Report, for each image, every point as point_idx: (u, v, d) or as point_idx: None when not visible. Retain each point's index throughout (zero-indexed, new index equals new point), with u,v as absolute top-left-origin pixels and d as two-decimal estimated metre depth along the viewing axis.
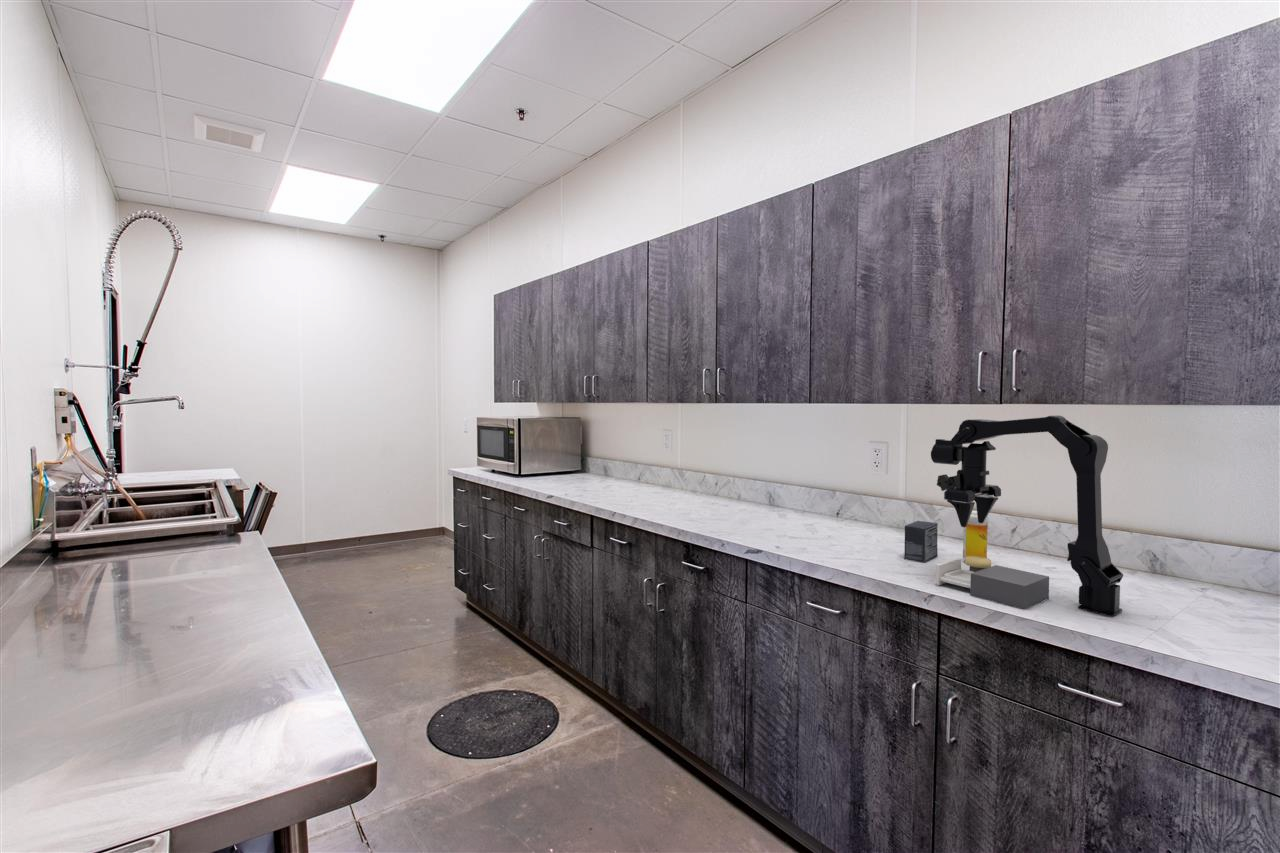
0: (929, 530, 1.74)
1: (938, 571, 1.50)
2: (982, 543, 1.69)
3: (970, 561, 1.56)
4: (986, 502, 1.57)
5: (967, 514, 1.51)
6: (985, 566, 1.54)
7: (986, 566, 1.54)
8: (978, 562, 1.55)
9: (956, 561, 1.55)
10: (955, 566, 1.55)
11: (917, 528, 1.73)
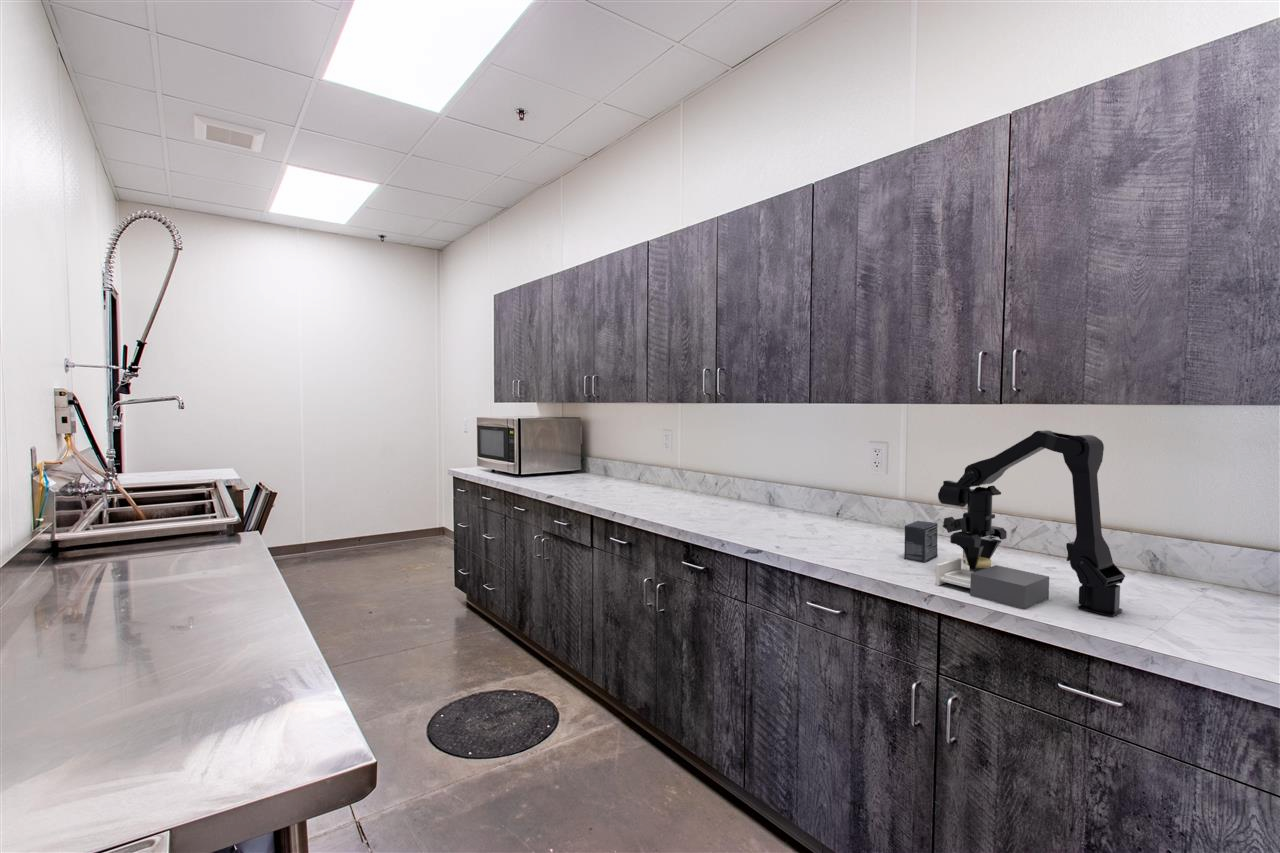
0: (929, 530, 1.74)
1: (938, 571, 1.50)
2: None
3: None
4: (989, 545, 1.58)
5: (976, 557, 1.53)
6: (985, 566, 1.54)
7: (986, 566, 1.54)
8: (978, 562, 1.55)
9: (956, 561, 1.55)
10: (955, 566, 1.55)
11: (917, 528, 1.73)
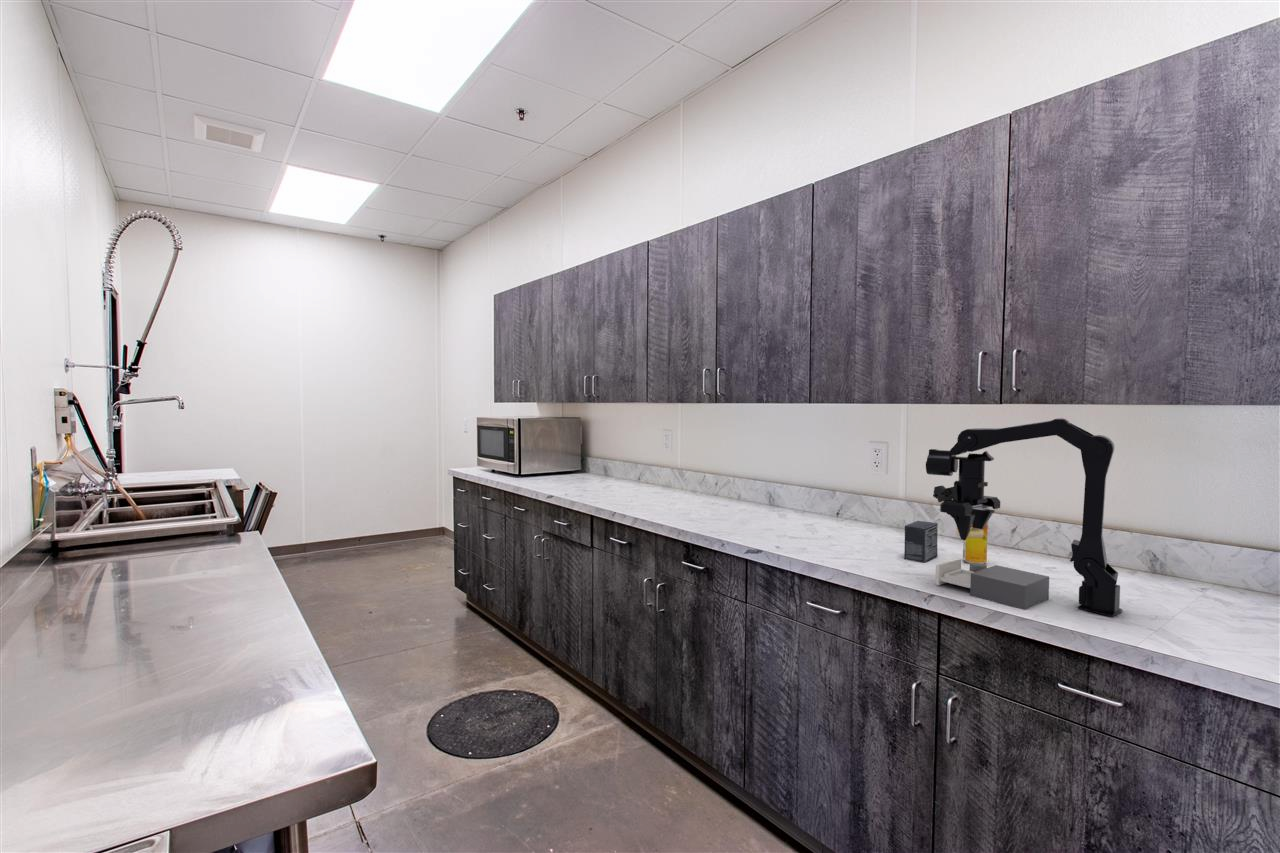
0: (929, 530, 1.74)
1: (938, 571, 1.50)
2: (982, 543, 1.69)
3: None
4: (982, 515, 1.50)
5: (967, 527, 1.46)
6: (977, 536, 1.47)
7: (978, 536, 1.47)
8: (969, 532, 1.47)
9: (956, 561, 1.55)
10: (955, 566, 1.55)
11: (917, 528, 1.73)
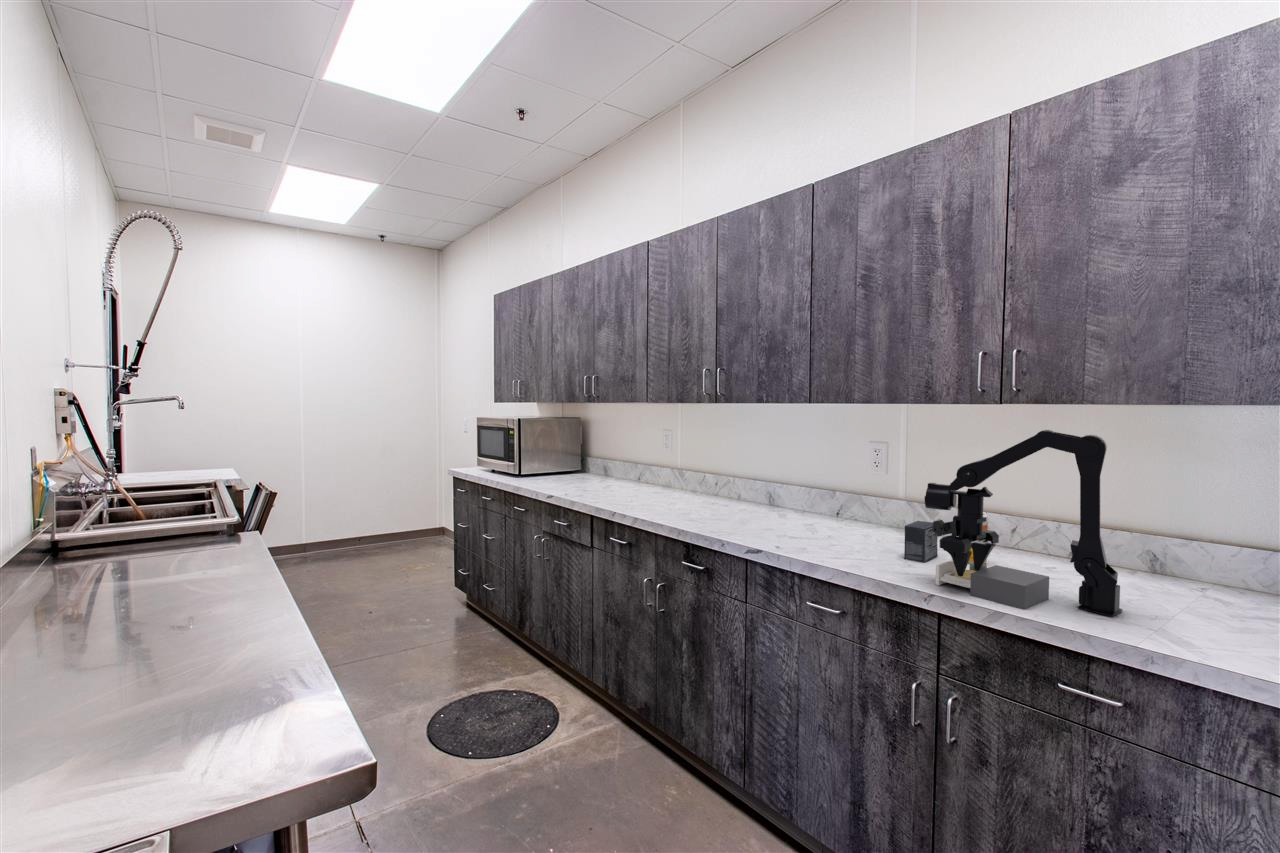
0: (929, 530, 1.74)
1: (938, 571, 1.50)
2: None
3: None
4: (983, 549, 1.51)
5: (964, 563, 1.45)
6: None
7: None
8: (968, 576, 1.47)
9: None
10: None
11: (917, 528, 1.73)
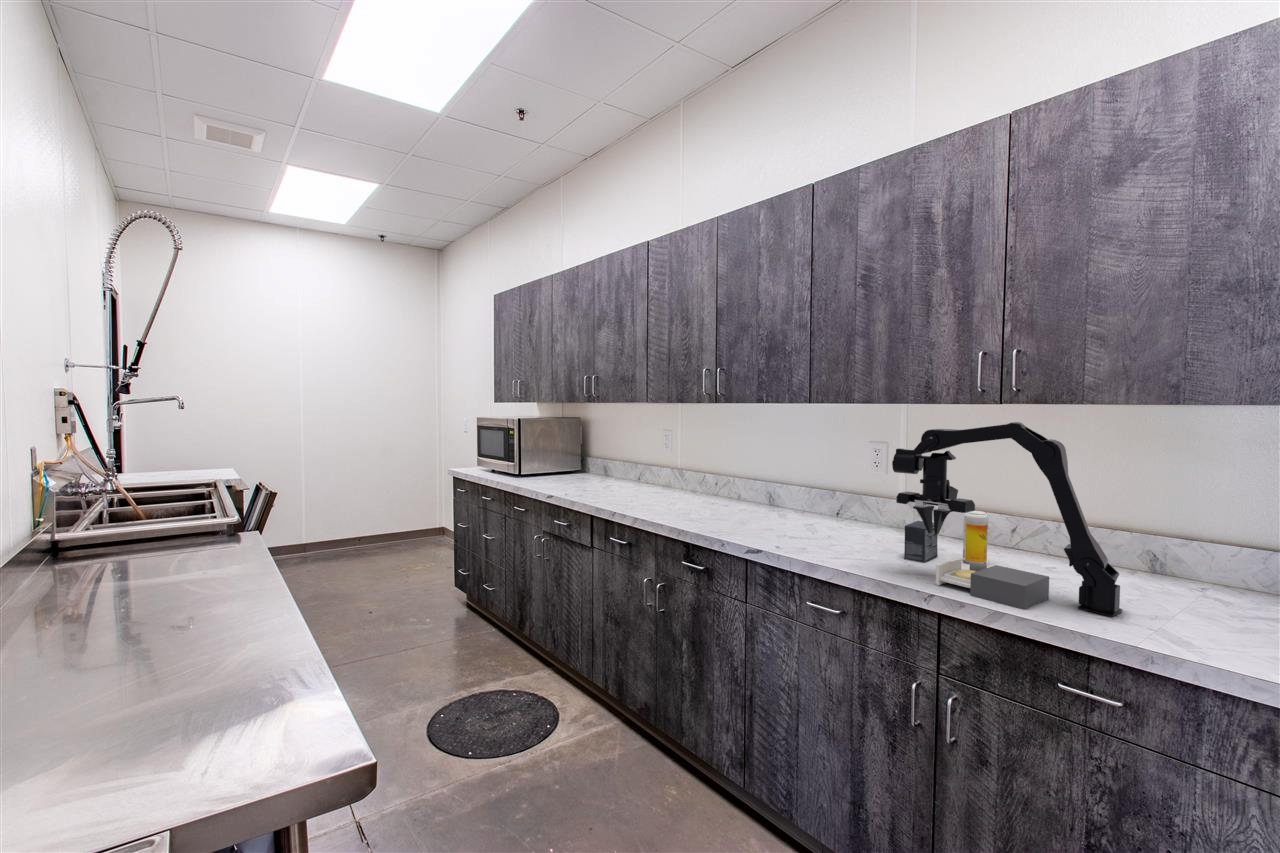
0: None
1: (938, 571, 1.50)
2: (982, 543, 1.69)
3: (960, 575, 1.49)
4: None
5: None
6: None
7: None
8: (968, 576, 1.47)
9: (956, 561, 1.55)
10: (955, 566, 1.55)
11: (917, 528, 1.73)
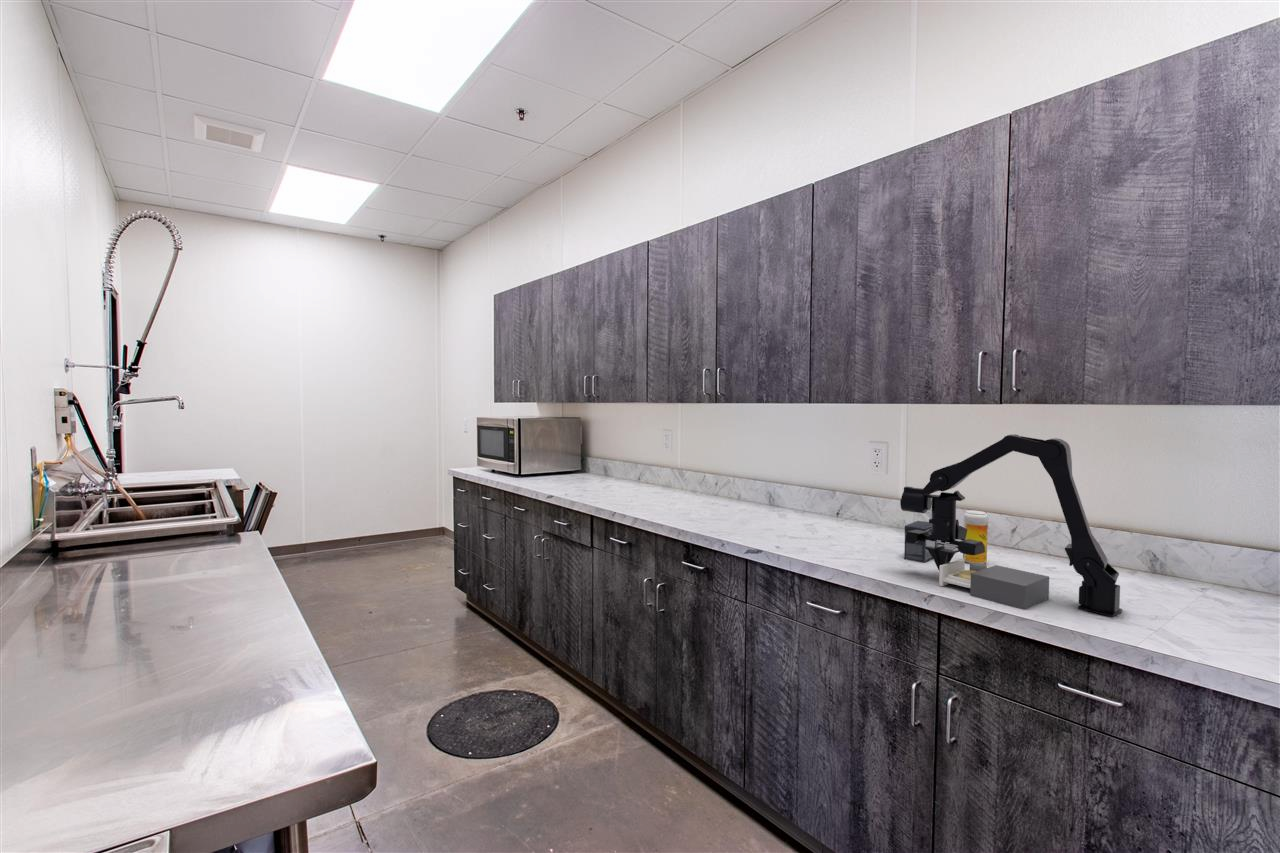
0: (929, 530, 1.74)
1: (942, 572, 1.50)
2: None
3: (963, 576, 1.48)
4: None
5: None
6: None
7: None
8: None
9: (959, 562, 1.54)
10: (959, 567, 1.54)
11: (917, 528, 1.73)
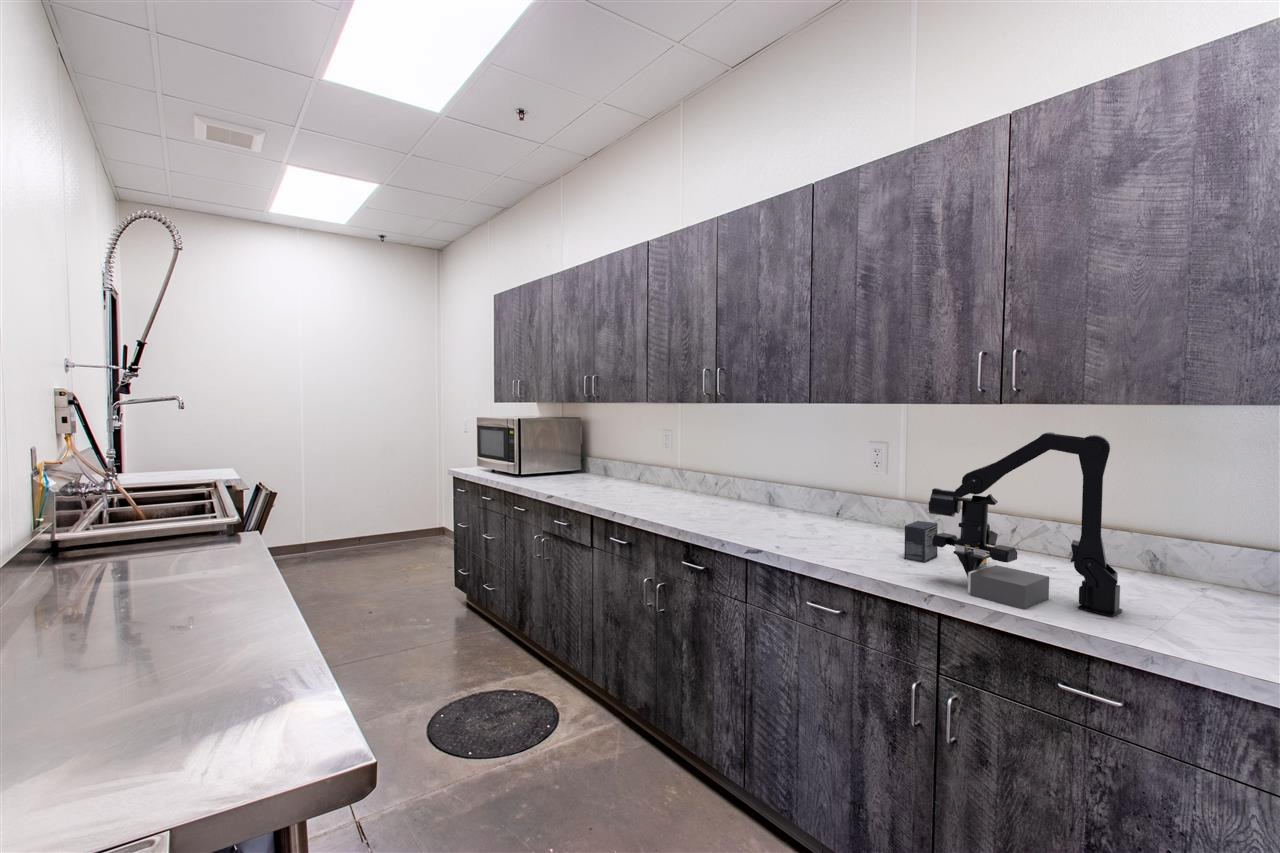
0: (929, 530, 1.74)
1: (970, 579, 1.44)
2: None
3: None
4: None
5: None
6: None
7: None
8: None
9: None
10: None
11: (917, 528, 1.73)
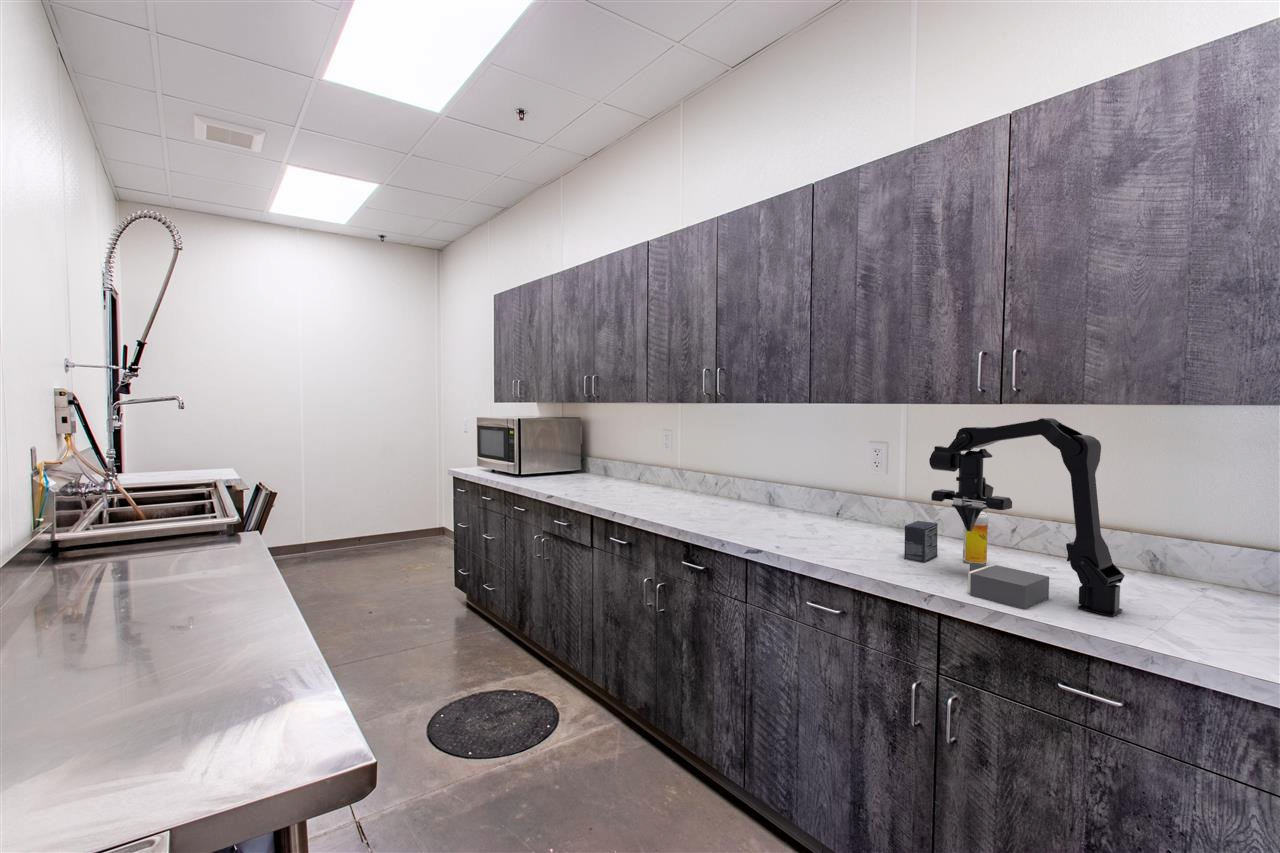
0: (929, 530, 1.74)
1: (970, 579, 1.44)
2: (982, 543, 1.69)
3: None
4: None
5: None
6: None
7: None
8: None
9: None
10: None
11: (917, 528, 1.73)
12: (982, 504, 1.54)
